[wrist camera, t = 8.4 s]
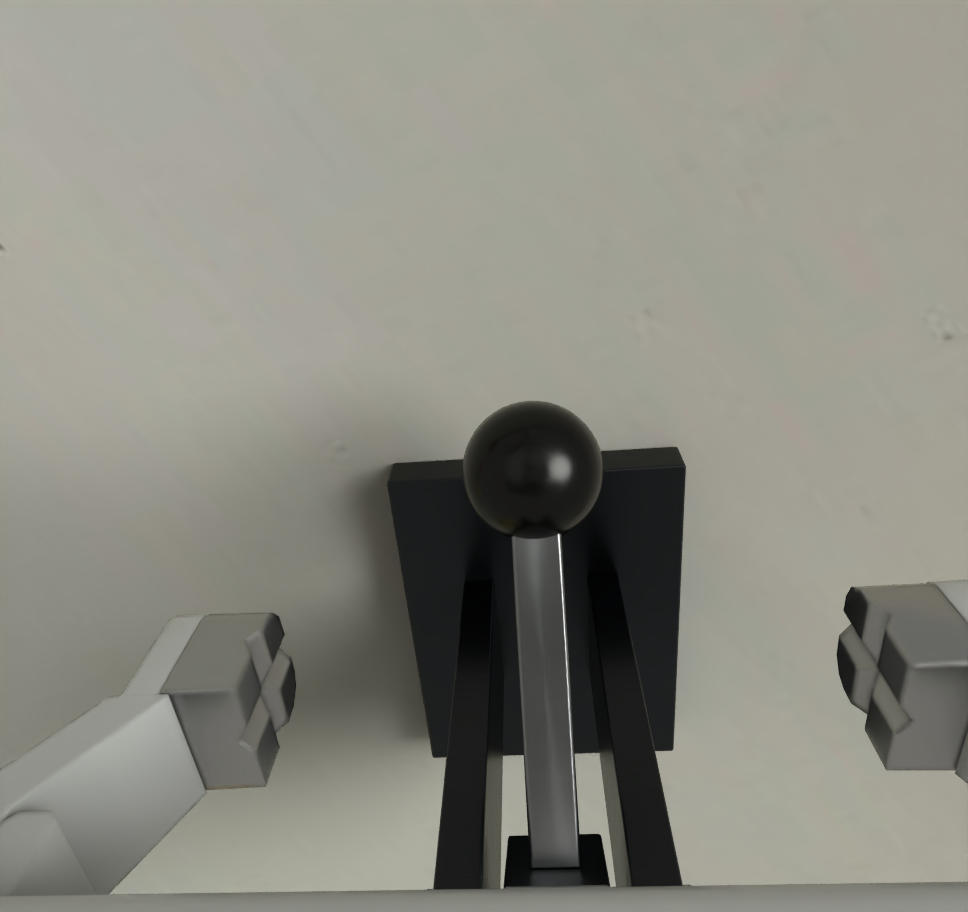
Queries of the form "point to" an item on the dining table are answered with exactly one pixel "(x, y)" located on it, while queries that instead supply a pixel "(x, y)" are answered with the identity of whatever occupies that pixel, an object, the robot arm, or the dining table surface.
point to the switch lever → (541, 619)
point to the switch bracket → (591, 649)
